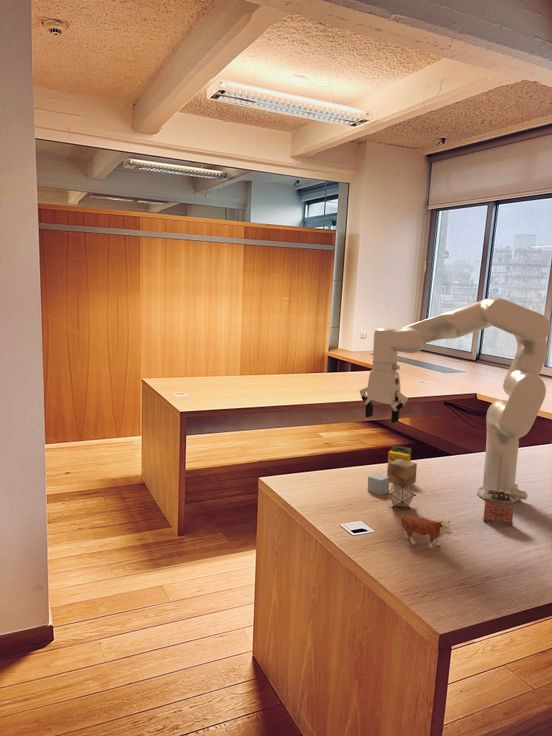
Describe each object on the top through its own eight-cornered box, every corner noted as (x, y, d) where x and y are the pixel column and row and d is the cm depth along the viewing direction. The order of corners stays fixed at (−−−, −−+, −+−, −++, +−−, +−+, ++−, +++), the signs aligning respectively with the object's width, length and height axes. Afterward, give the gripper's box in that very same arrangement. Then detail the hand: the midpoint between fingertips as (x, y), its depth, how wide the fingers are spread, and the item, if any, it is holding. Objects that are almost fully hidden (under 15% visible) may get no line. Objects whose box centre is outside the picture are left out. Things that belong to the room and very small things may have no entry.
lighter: (512, 522, 159) (515, 490, 157) (513, 527, 156) (516, 494, 154) (482, 518, 162) (485, 486, 160) (482, 523, 158) (485, 490, 157)
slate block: (388, 491, 182) (389, 476, 181) (380, 495, 178) (381, 480, 177) (376, 487, 185) (376, 472, 184) (367, 491, 182) (368, 476, 181)
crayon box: (386, 478, 193) (388, 446, 191) (389, 476, 196) (391, 444, 194) (406, 482, 189) (408, 450, 187) (409, 480, 192) (411, 448, 190)
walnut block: (415, 482, 168) (416, 463, 167) (405, 487, 164) (406, 467, 163) (398, 477, 172) (399, 458, 171) (388, 481, 168) (389, 463, 167)
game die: (403, 516, 171) (420, 489, 173) (407, 517, 163) (425, 489, 164) (378, 499, 173) (395, 472, 174) (381, 500, 165) (399, 472, 166)
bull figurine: (449, 555, 140) (451, 525, 138) (398, 541, 147) (400, 512, 145) (454, 548, 143) (456, 519, 142) (404, 535, 150) (405, 507, 149)
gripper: (414, 369, 172) (411, 422, 175) (368, 362, 183) (365, 412, 186) (402, 371, 166) (399, 426, 169) (355, 365, 178) (352, 416, 181)
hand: (381, 419), depth 178 cm, fingers open, 9 cm apart
